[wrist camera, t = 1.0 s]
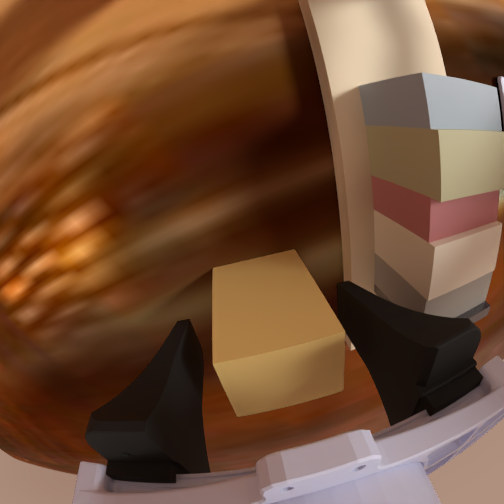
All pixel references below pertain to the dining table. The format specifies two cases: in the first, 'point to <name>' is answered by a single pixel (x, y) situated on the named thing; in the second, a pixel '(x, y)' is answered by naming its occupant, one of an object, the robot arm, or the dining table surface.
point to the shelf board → (349, 101)
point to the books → (434, 189)
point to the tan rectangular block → (274, 334)
